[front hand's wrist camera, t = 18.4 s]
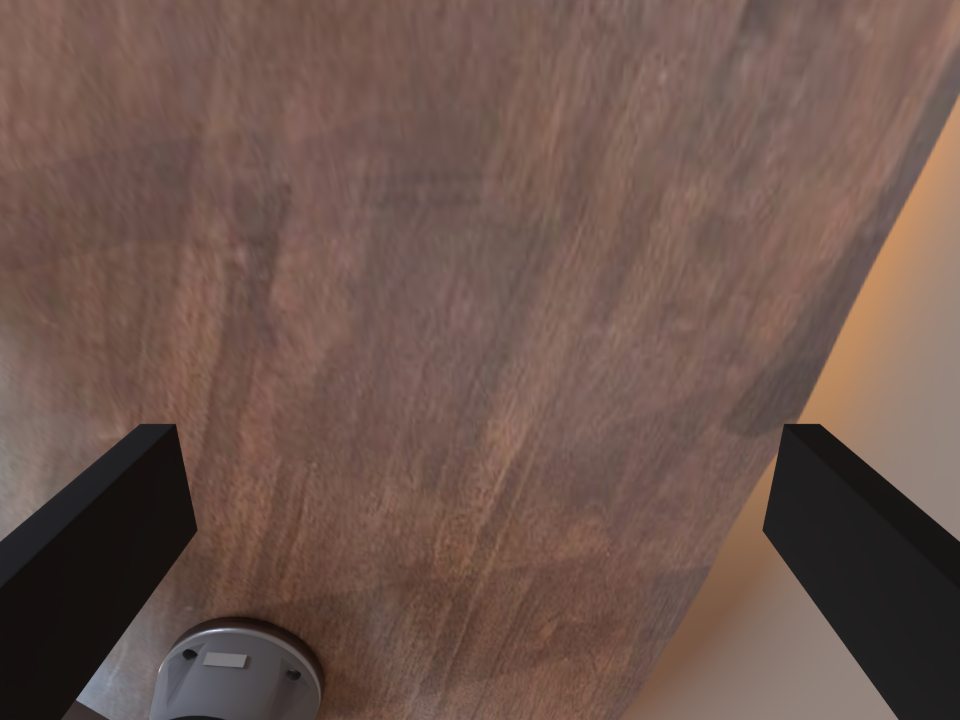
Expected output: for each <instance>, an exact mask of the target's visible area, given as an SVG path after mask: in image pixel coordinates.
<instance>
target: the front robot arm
mask: <svg viewBox="0 0 960 720" xmlns="http://www.w3.org/2000/svg"><path fill="white" fill-rule="evenodd" d="M196 532H197V525H196V520H195V516H194V511H193V506H192V501H191V496H190V491H189V486H188V481H187V477H186V472H185V467H184V462H183V457H182V452H181V447H180V442H179V437H178V433H177V428H176V424H140V425H138V426H137V427H136V428H135V429H134V430H133V431H131V432H130V433H129V434H128V435H127V436H125V437H124V438H123V439H122V440H121V441H119V442H118V443H117V444H116V445H115V446H113V447H112V448H111V449H110V450H109V451H108V452H106V453H105V454H104V455H103V456H102V457H100V458H99V459H98V460H97V461H96V462H94V463H93V464H92V465H91V466H90V467H89V468H87V469H86V470H85V471H84V472H83V473H81V474H80V475H79V476H78V477H77V478H75V479H74V480H73V481H72V482H71V483H70V484H68V485H67V486H66V487H65V488H64V489H62V490H61V491H60V492H59V493H58V494H56V495H55V496H54V497H53V498H52V499H51V500H49V501H48V502H47V503H46V504H45V505H43V506H42V507H41V508H40V509H39V510H37V511H36V512H35V513H34V514H33V515H32V516H30V517H29V518H28V519H27V520H26V521H24V522H23V523H22V524H21V525H20V526H18V527H17V528H16V529H15V530H14V531H13V532H11V533H10V534H9V535H8V536H7V537H5V538H4V539H3V540H2V541H1V542H0V720H109V719H107V718H106V717H104V716H102V715H100V714H99V713H97V712H95V711H94V710H92V709H90V708H88V707H87V706H85V705H83V704H82V703H80V702H78V701H76V699H77V697H78V696H79V694H80V693H81V692H82V690H83V689H84V687H85V686H86V685H87V683H88V682H89V680H90V679H91V678H92V676H93V675H94V674H95V672H96V671H97V669H98V668H99V667H100V665H101V664H102V662H103V661H104V660H105V658H106V657H107V655H108V654H109V653H110V651H111V650H112V649H113V647H114V646H115V644H116V643H117V642H118V640H119V639H120V637H121V636H122V635H123V633H124V632H125V630H126V629H127V628H128V626H129V625H130V624H131V622H132V621H133V619H134V618H135V617H136V615H137V614H138V612H139V611H140V610H141V608H142V607H143V605H144V604H145V603H146V601H147V600H148V599H149V597H150V596H151V594H152V593H153V592H154V590H155V589H156V587H157V586H158V585H159V583H160V582H161V580H162V579H163V578H164V576H165V575H166V574H167V572H168V571H169V569H170V568H171V567H172V565H173V564H174V562H175V561H176V560H177V558H178V557H179V555H180V554H181V553H182V551H183V550H184V549H185V547H186V546H187V544H188V543H189V542H190V540H191V539H192V537H193V536H194V535H195V533H196ZM763 532H764V533H765V535H766V536H767V537H768V539H769V540H770V541H771V543H772V544H773V546H774V547H775V548H776V550H777V551H778V553H779V554H780V555H781V557H782V558H783V560H784V561H785V562H786V564H787V565H788V567H789V568H790V569H791V571H792V572H793V573H794V575H795V576H796V578H797V579H798V580H799V582H800V583H801V585H802V586H803V587H804V589H805V590H806V592H807V593H808V594H809V596H810V597H811V598H812V600H813V601H814V603H815V604H816V605H817V607H818V608H819V610H820V611H821V612H822V614H823V615H824V617H825V618H826V619H827V621H828V622H829V624H830V625H831V626H832V628H833V629H834V630H835V632H836V633H837V635H838V636H839V637H840V639H841V640H842V642H843V643H844V644H845V646H846V647H847V649H848V650H849V651H850V653H851V654H852V655H853V657H854V658H855V660H856V661H857V662H858V664H859V665H860V667H861V668H862V669H863V671H864V672H865V674H866V675H867V676H868V678H869V679H870V680H871V682H872V683H873V685H874V686H875V687H876V689H877V690H878V692H879V693H880V694H881V696H882V697H883V699H884V700H885V701H886V703H887V704H888V705H889V707H890V708H891V710H892V711H893V712H894V714H895V715H896V717H897V718H898V719H899V720H960V542H959V541H958V540H957V539H956V538H955V537H953V536H952V535H951V534H950V533H949V532H947V531H946V530H945V529H944V528H943V527H942V526H940V525H939V524H938V523H937V522H936V521H934V520H933V519H932V518H931V517H930V516H928V515H927V514H926V513H925V512H924V511H923V510H921V509H920V508H919V507H918V506H917V505H915V504H914V503H913V502H912V501H911V500H909V499H908V498H907V497H906V496H905V495H904V494H902V493H901V492H900V491H899V490H897V489H896V488H895V487H894V486H893V485H892V484H890V483H889V482H888V481H887V480H886V479H885V478H883V477H882V476H881V475H880V474H879V473H877V472H876V471H875V470H874V469H873V468H871V467H870V466H869V465H868V464H867V463H865V462H864V461H863V460H862V459H861V458H860V457H858V456H857V455H856V454H855V453H854V452H852V451H851V450H850V449H849V448H848V447H846V446H845V445H844V444H843V443H842V442H841V441H839V440H838V439H837V438H836V437H835V436H833V435H832V434H831V433H830V432H829V431H827V430H826V429H825V428H824V427H823V426H822V425H820V424H784V428H783V433H782V437H781V442H780V447H779V452H778V457H777V462H776V467H775V472H774V477H773V481H772V486H771V491H770V496H769V501H768V506H767V511H766V516H765V520H764V525H763ZM323 692H324V675H323V671H322V668H321V666H320V664H319V662H318V660H317V658H316V657H315V655H314V654H313V652H312V651H311V650H310V649H309V648H308V647H307V646H306V645H305V644H304V643H303V642H302V641H301V640H300V639H298V638H297V637H295V636H294V635H293V634H291V633H289V632H288V631H286V630H284V629H282V628H280V627H277V626H275V625H272V624H269V623H266V622H263V621H259V620H254V619H247V618H222V619H216V620H211V621H207V622H204V623H201V624H199V625H197V626H195V627H193V628H191V629H189V630H188V631H187V632H185V633H184V634H183V635H182V636H181V637H179V638H178V640H177V641H176V642H175V643H174V645H173V646H172V648H171V650H170V651H169V653H168V655H167V656H166V658H165V660H164V661H163V663H162V665H161V667H160V670H159V673H158V678H157V683H156V688H155V692H154V697H153V702H152V707H151V712H150V716H149V720H315V718H316V716H317V714H318V710H319V707H320V703H321V700H322V696H323Z"/></svg>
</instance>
